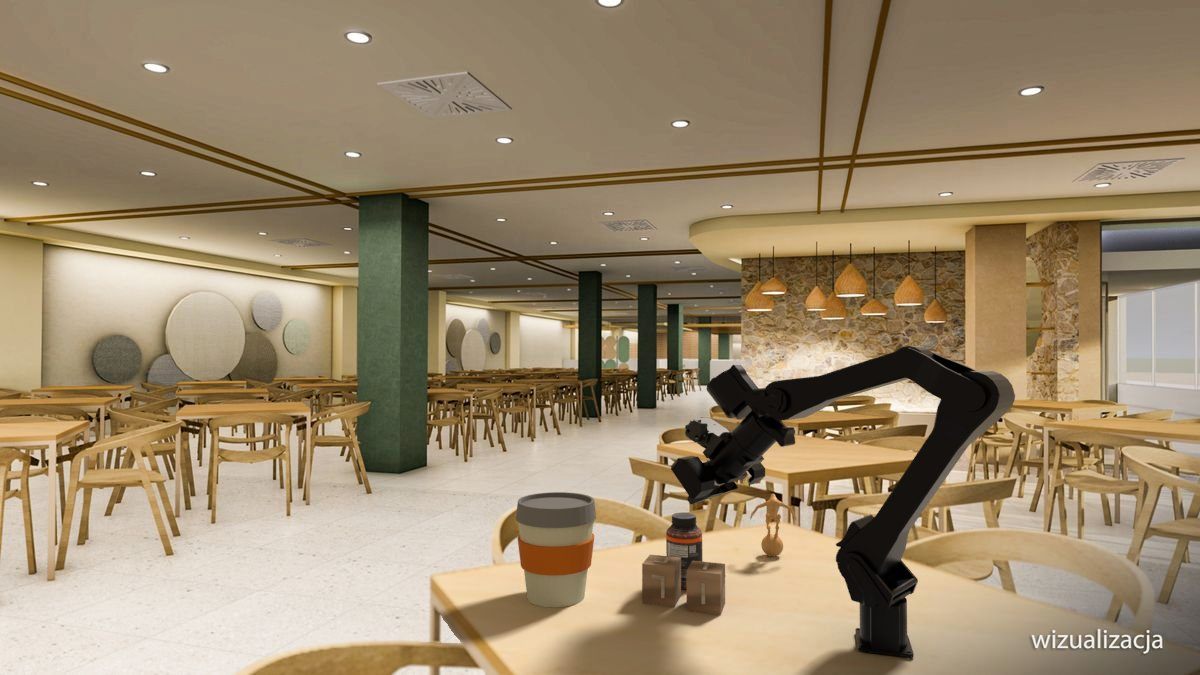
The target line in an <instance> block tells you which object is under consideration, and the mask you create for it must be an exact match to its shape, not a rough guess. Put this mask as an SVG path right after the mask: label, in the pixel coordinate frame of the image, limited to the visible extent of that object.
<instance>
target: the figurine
mask: <svg viewBox="0 0 1200 675" xmlns="http://www.w3.org/2000/svg"><path fill="white" fill-rule="evenodd" d="M764 507H767V509H768V511H769V513H768V512H767V513H766V514H765V523H766V529H767V535H765V536H763V538H762V540H761V544H760V545H761V550H762V551H763V553H764V554H765V555H767V556H769V557H777V556H779V555H781V553H782V552H783V550H784V543H783V541H782V539H781V537H780V536H779V530H780V525H779V524H780V522H781V518H782V515H781V514H780V513H779V510H780V507H783V508H785V509H788V510H789V512H790V514H791V515H792V518H793V520H794V521H797V518H796V514H795V512H794V511H793V508H792V507H791V506H789V505H788V504H786V503H784V502H782V501H780V500H779V499H778V498H777V497H776V494H775V493H771V495H770V497H769V499H768V500H767V501H764V502H763V503H759V504H758V505H757V506H755V508H754V510H753V511H752V512H751V514H750V516H749V517H750V518H749V519H750V520H752V519H753V516H754V515H755V514H756V512H757V511H758V509H761V508H764ZM772 520H774V523H775V527H774V528H775V532H774V534H773V533H772V534H771V526H770V523H771V522H772Z"/></svg>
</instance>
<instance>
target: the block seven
mask: <svg viewBox="0 0 1200 675" xmlns="http://www.w3.org/2000/svg"><path fill="white" fill-rule="evenodd" d="M641 565H642V566H641V568H642V569H641V576H642V578H641V582H642V583H641V585H642V586H641V591H642V592H641V602H642V604H645V605H652V606H662V607H667V608H670V607H671V608H675V607H676V605H677V604H678V602H679V600H680V598H681V597H682V589H681V557H670V556H667V555H659V554H658V555H657V554H649V555H648V557H647V558H646V559H645V560H644V561H643V562H642V564H641Z"/></svg>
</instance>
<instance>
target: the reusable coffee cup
mask: <svg viewBox="0 0 1200 675" xmlns="http://www.w3.org/2000/svg"><path fill="white" fill-rule="evenodd" d="M596 511H597V510H596V503H595V498H594V497H592V496H590V495H588V494H585V493H584V494H583V493H577V492H567V491H566V492H565V491H553V492H540V493H532V494H528V495H524V496H522V497H520V498H519V499H517V505H516V515H515V521H516V522H517V523H518V531H519V534H518V536H517V545H518V552H519V560H520V561H519V562H520V567H521V568H522V570H523V572H524V573H523V574H524V581H525V590H526V596H527V600H528V602H529V603H531V604H533V605H535V606H538V607H543V608H544V607H545V608H565V607H570V606H574V605H576V604H579V603H582V601H583V600H585V596H586V589H587V588H586V586H587V580H588V573H589V572H588V571H589V570H588V569H589V568H590V567H591V566H592V562H593V561H592V559H593V552H594V543H595V535H594V533H593V529H594V523H595V522H594V521H595V520H596V519H597V513H596Z"/></svg>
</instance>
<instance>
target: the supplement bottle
mask: <svg viewBox="0 0 1200 675" xmlns="http://www.w3.org/2000/svg"><path fill="white" fill-rule="evenodd" d="M665 536H666V537H665V540H666V541H665V542H666V544H665V545H666V546H665V547H666V548H665V550H666V552H665V553H666V556H670V557H681V590H687V569H688V567H689V566H690V564H691V562H692V561H701V562H704V561H703V532H702V530H701V528H700V527H698V525H697V515H696V514H694V513H691V512H683V511H681V512H676V513H673V514H672V515H671V525H670V526H669V527H668V528H667V530H666V534H665Z"/></svg>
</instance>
